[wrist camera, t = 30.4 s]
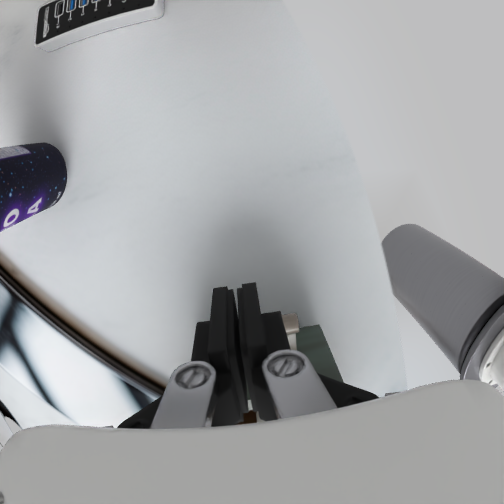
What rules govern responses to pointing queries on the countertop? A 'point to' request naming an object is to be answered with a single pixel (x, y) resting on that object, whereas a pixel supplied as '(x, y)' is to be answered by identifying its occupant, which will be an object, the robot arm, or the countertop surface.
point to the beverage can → (29, 181)
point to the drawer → (309, 344)
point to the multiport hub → (89, 19)
